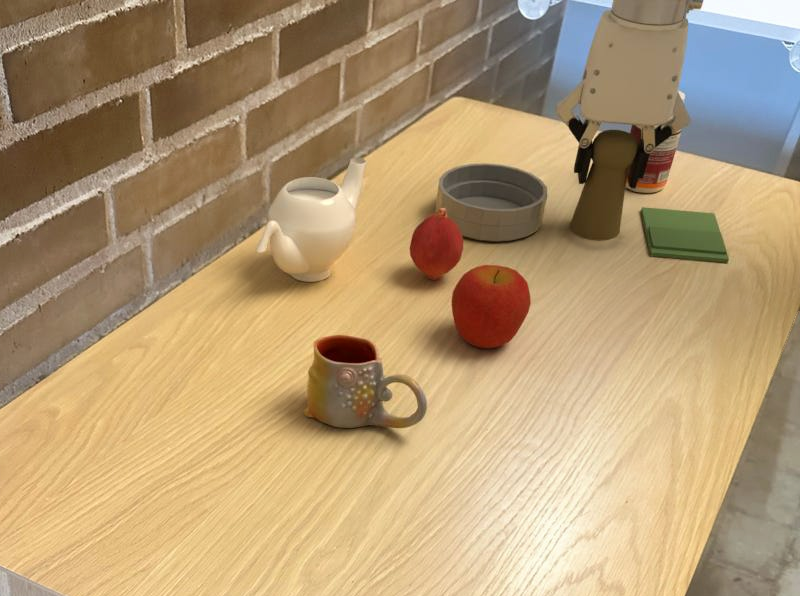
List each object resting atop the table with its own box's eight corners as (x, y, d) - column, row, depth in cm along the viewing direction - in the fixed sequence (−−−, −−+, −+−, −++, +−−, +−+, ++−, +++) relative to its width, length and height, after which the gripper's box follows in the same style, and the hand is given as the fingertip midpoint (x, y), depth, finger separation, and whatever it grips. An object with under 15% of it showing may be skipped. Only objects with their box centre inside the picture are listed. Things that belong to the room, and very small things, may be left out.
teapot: (222, 295, 105) (218, 210, 98) (323, 227, 117) (326, 146, 110) (295, 322, 102) (296, 236, 95) (392, 250, 113) (399, 168, 106)
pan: (539, 200, 123) (545, 168, 120) (541, 248, 115) (548, 215, 112) (437, 191, 124) (441, 159, 121) (432, 238, 115) (436, 205, 112)
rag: (713, 217, 122) (715, 210, 121) (727, 263, 114) (730, 256, 113) (640, 210, 122) (642, 204, 121) (650, 256, 114) (652, 249, 114)
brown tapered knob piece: (616, 243, 116) (641, 147, 108) (566, 234, 117) (587, 139, 109) (622, 222, 120) (647, 128, 112) (573, 213, 121) (595, 120, 113)
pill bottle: (614, 172, 130) (637, 82, 121) (661, 175, 129) (687, 85, 121) (620, 192, 125) (643, 101, 117) (668, 196, 125) (695, 104, 117)
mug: (291, 414, 91) (292, 351, 86) (333, 381, 95) (336, 319, 90) (399, 462, 87) (406, 400, 82) (438, 426, 91) (447, 364, 86)
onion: (397, 281, 109) (404, 209, 103) (422, 260, 112) (430, 190, 106) (442, 296, 106) (452, 225, 100) (467, 275, 110) (478, 205, 104)
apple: (498, 315, 104) (511, 244, 98) (536, 353, 100) (551, 281, 94) (434, 328, 102) (443, 257, 96) (469, 367, 97) (481, 295, 92)
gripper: (727, -1, 103) (675, 174, 116) (565, -13, 104) (532, 162, 117) (739, 21, 98) (683, 201, 111) (568, 9, 99) (534, 189, 112)
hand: (606, 179), depth 114 cm, fingers closed on brown tapered knob piece, 5 cm apart
